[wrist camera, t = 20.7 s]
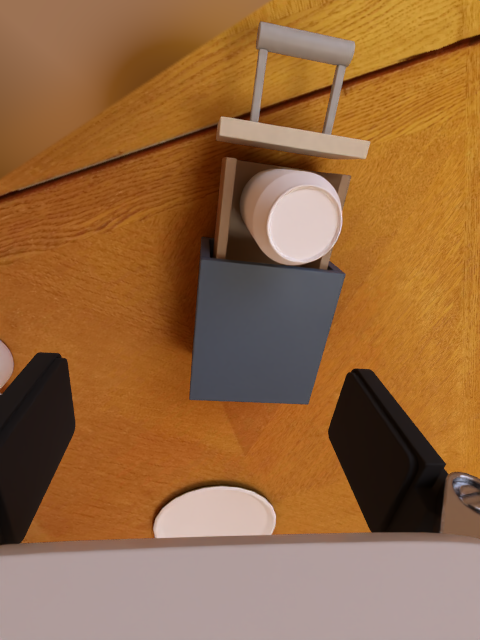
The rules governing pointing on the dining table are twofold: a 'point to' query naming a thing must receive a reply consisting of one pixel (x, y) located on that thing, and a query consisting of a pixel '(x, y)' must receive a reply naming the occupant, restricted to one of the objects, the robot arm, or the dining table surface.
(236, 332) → the cabinet
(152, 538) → the robot arm
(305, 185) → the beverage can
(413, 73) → the dining table surface
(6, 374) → the cup
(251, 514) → the plate
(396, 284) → the dining table surface
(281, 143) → the drawer
